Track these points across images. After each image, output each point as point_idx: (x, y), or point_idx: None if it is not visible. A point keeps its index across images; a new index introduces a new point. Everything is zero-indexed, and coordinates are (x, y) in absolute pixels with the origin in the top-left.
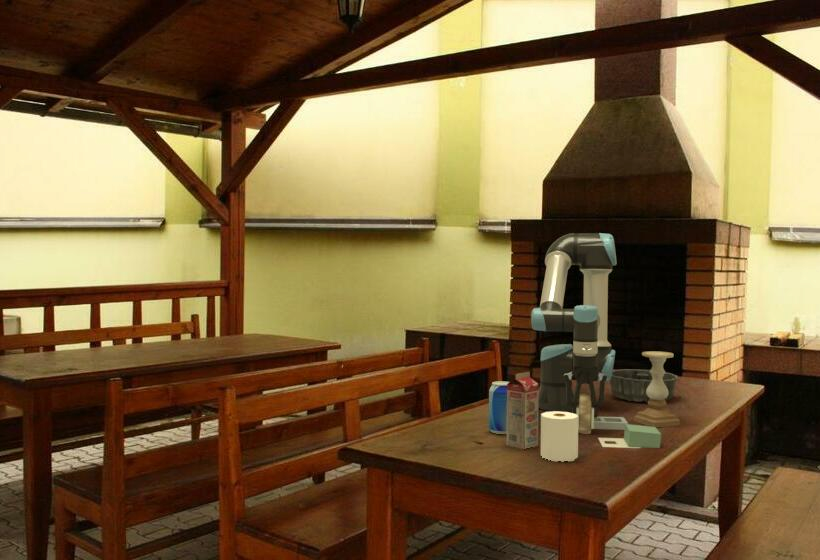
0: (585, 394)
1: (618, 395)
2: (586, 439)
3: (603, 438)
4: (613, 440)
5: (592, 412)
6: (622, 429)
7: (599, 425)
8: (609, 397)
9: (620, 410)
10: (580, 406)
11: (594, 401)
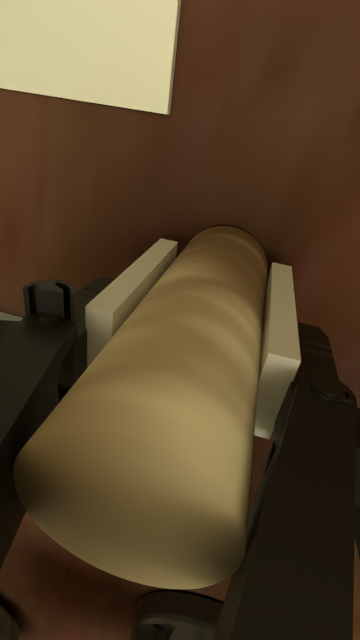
0: (105, 546)
1: (5, 622)
2: (263, 101)
3: (130, 85)
4: (65, 4)
5: (122, 289)
6: (2, 316)
7: None
8: (35, 627)
9: (12, 545)
10: (247, 360)
11: (27, 359)
